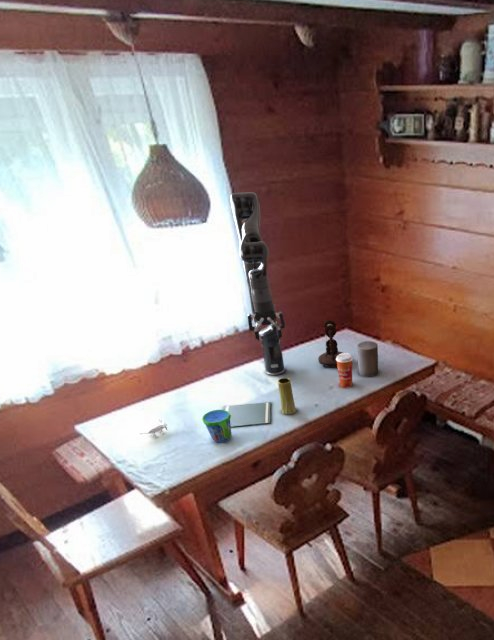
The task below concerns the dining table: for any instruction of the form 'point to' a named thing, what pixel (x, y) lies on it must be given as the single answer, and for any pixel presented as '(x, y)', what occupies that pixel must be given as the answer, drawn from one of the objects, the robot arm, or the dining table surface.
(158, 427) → the grey animal figurine
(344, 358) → the paper cup
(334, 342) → the dark brown sculpture
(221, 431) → the snack cup
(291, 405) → the vase
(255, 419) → the green board
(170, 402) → the dining table surface
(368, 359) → the pillar candle
